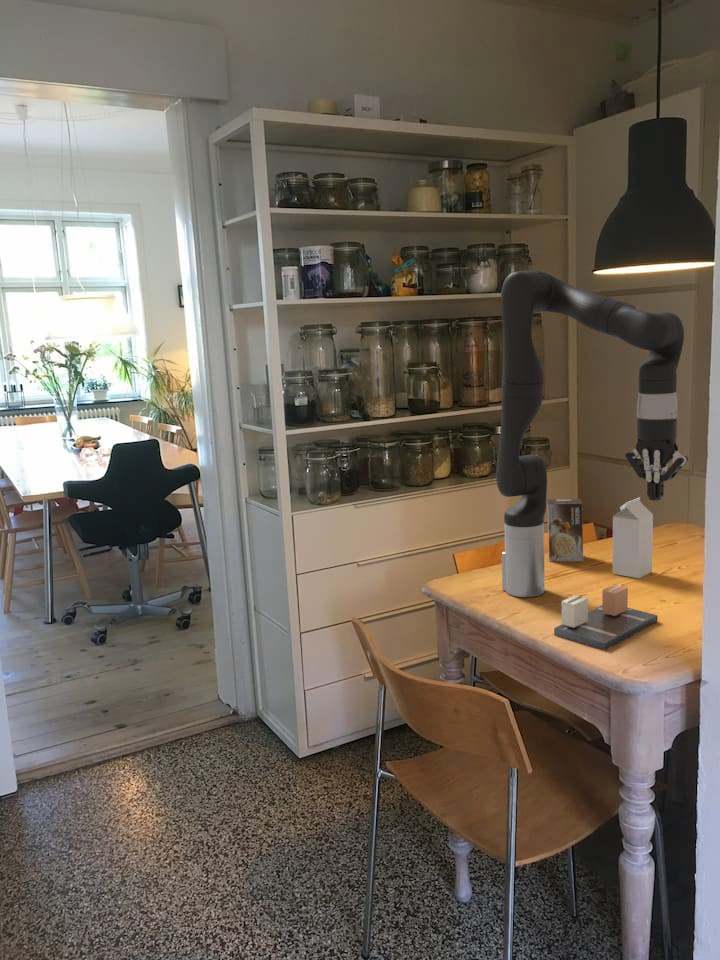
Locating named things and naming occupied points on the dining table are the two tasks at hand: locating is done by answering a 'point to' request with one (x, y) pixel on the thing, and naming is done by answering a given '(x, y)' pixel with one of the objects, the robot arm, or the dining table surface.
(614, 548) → the milk carton
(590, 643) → the console board
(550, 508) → the coffee box
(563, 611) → the block
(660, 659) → the dining table surface
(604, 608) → the fader terracotta
